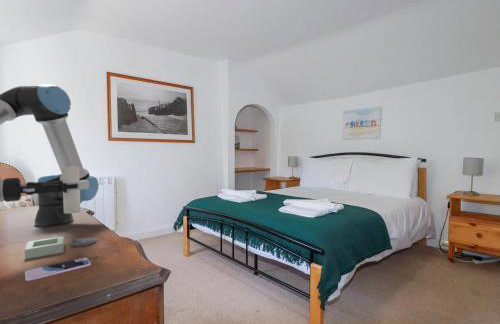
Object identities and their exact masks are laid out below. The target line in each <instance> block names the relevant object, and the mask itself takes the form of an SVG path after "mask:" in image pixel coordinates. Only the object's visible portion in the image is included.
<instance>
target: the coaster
mask: <svg viewBox="0 0 500 324" xmlns="http://www.w3.org/2000/svg"><path fill="white" fill-rule="evenodd" d="M95 243H97V238H96V237H83V238H78V239H75V240H73V241H71V242H70V246H71V247H73V248H79V247H87V246H91V245H93V244H95Z"/></svg>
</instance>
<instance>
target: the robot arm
mask: <svg viewBox="0 0 500 324" xmlns="http://www.w3.org/2000/svg"><path fill="white" fill-rule="evenodd" d="M71 106H72V102H71V98H70V96H69V95H68V94H67V91H65V90H64V89H63V88H62V87H60V86H57V85H53V84H37V85H36V84H35V85H34V84H33V85H21V86H19V85H18V86H16V87H13V88H9V89H8V90H6V91H4V92H2V93H0V126H1V125H3V124H4V123H6V122H7V121H10V122H11V121H14V120H16V119H17V118H19V117H23V116H29V115H31V116H32V115H33V118H34V119H35V122H36V123H39V124H41V125H42V127H43V130H44V133H45V136H46V138H47V140H48V142H49V145H50V147H51V150H52V152H53V155H54V158H55V160H56V162H57V165H58V167H59V170H60V172H61V173H60V174H52V175H51V174H50V175H44V176H40V177H38V178H37V182H36V181H29V182H26V184H21V179H20V178H19V177H8V178H4V179H2V178H0V203H2V202H3V201H4V202H6V203H8V202H18V201H20V200H21V198H22V194H26V195H27V196H32V195H36V194H37V200H38V201H37V202H38V203H37V205H38V208H37V212H36V215H35V217H34V226H35V227H53V226H61V225H64V224H68V223H71V222H73V221H74V216H73V213H69V214H66V213H64V207H63V191H64V193H67V191H68V190H80V203H81V202H89V201H91V200H93V199H94V198H95V197H96V195H97V194H98V191H99V184H100V183H99V181H98V178H97V177H94V176H92V175H91V174H90V173H89V171H88V169H87V168H84V166H83V164H82V160H81V158H80V155H79V152H78V150H77V148H76V144H75V142H74V139H73V136H72V133H71V131H70V128H69V125H68V122H67V118H68V117H69V112H70V110H71ZM62 167H79V181H80V182H68V183H67V184H66V183H63V175H62Z"/></svg>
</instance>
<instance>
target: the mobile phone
mask: <svg viewBox="0 0 500 324" xmlns="http://www.w3.org/2000/svg"><path fill="white" fill-rule="evenodd" d="M91 265H92V264H91V261H90V260H89V259H88V258H87V257H80V258H75V259H71V260H67V261H62V262H57V263H54V264H49V265H43V266H40V267H36V268H35V267H34V268H31V269H28V270H26V271H25V272H24V279H25V281H26V282H27V281H33V280H34V281H35V280H38V279H41V278H45V277H49V276H53V275H54V276H55V275H58V274H62V273H64V272H65V273H66V272H69V271H70V272H71V271H73V270H77V269H81V268H86V267H88V266H89V267H90V266H91Z"/></svg>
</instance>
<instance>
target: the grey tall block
mask: <svg viewBox="0 0 500 324" xmlns="http://www.w3.org/2000/svg"><path fill="white" fill-rule="evenodd" d="M61 174H62V175H63V183H66V184H67V183H68V182H80V181H79V167H62V172H61ZM63 207H64V213H66V214H69V213H72V214H77V213H80V212H81V201H80V190H68V191H67V193H64V191H63Z"/></svg>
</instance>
